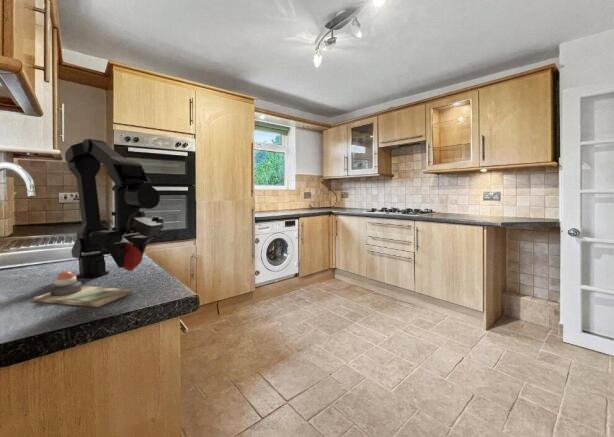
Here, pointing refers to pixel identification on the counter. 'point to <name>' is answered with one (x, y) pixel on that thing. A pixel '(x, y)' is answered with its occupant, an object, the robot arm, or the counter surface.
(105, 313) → the counter surface
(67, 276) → the button
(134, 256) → the onion
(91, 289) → the board
